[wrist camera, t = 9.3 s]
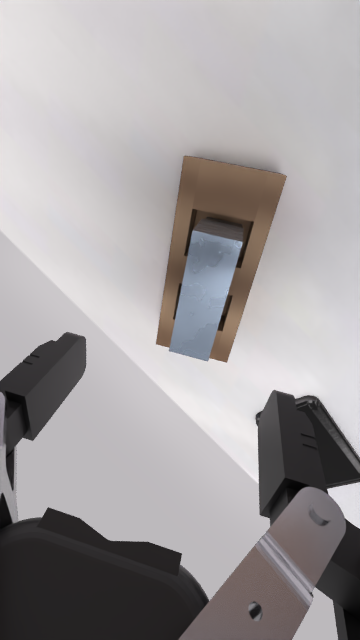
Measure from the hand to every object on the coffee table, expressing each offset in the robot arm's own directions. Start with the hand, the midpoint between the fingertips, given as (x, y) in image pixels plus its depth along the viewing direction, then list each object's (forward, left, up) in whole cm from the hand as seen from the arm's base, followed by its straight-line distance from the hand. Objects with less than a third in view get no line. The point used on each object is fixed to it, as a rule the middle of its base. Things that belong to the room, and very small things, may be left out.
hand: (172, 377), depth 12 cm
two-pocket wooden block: (0, 0, -17) cm, 17 cm away
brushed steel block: (0, 0, -16) cm, 16 cm away
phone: (+20, +17, -18) cm, 32 cm away
